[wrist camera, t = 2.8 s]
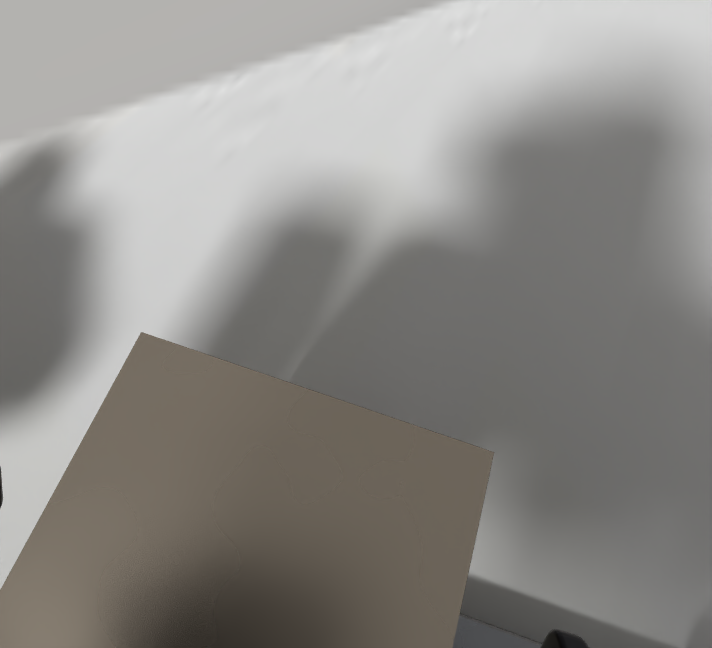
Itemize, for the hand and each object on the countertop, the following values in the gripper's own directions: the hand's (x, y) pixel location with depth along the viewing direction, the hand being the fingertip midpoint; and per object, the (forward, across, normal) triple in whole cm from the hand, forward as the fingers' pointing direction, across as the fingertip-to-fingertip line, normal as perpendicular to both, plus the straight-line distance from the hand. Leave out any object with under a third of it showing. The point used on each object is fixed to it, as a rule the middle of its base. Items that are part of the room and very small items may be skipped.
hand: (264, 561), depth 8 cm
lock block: (+5, 0, +6) cm, 8 cm away
